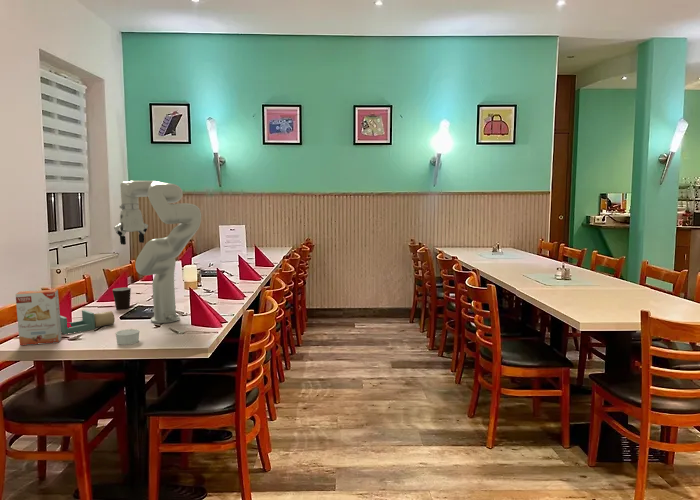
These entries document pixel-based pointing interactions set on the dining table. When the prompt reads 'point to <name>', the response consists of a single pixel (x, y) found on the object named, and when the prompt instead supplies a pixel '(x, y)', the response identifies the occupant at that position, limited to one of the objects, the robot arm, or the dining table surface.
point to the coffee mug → (122, 298)
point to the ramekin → (127, 336)
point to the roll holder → (78, 323)
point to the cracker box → (38, 316)
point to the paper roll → (104, 319)
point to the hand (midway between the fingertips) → (132, 243)
